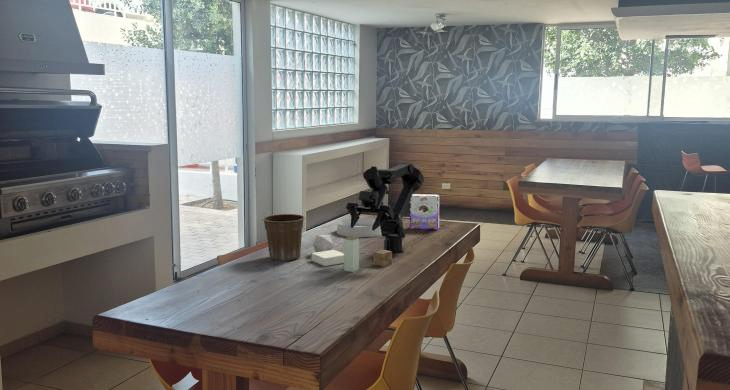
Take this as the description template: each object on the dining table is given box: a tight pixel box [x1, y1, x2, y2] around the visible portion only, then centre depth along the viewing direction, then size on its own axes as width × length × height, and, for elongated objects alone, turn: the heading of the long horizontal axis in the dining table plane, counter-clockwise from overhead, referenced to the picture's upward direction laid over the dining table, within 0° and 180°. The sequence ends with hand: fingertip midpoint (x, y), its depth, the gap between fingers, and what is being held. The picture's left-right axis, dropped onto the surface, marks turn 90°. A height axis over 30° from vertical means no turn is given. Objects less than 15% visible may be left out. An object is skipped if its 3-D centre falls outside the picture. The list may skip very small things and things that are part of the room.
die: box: [312, 234, 335, 253], centre depth 262 cm, size 8×9×10 cm
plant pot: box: [262, 213, 305, 262], centre depth 256 cm, size 16×16×16 cm
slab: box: [311, 249, 344, 267], centre depth 250 cm, size 10×10×3 cm
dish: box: [336, 217, 382, 238], centre depth 305 cm, size 22×22×5 cm
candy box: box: [409, 193, 440, 231], centre depth 313 cm, size 14×6×16 cm, turn 77°
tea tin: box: [343, 236, 360, 273], centre depth 237 cm, size 4×4×12 cm
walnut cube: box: [372, 249, 393, 267], centre depth 246 cm, size 5×5×5 cm
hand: (361, 228), depth 243 cm, fingers open, 9 cm apart
